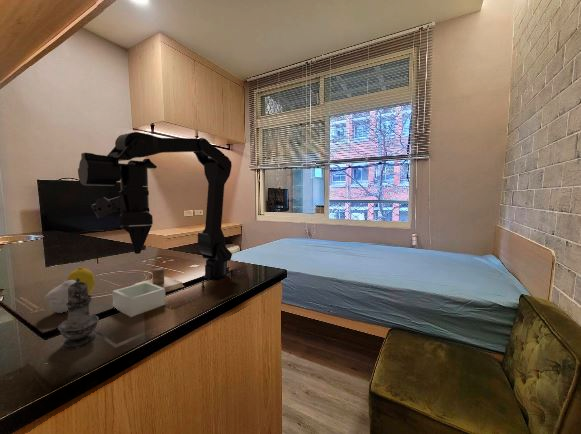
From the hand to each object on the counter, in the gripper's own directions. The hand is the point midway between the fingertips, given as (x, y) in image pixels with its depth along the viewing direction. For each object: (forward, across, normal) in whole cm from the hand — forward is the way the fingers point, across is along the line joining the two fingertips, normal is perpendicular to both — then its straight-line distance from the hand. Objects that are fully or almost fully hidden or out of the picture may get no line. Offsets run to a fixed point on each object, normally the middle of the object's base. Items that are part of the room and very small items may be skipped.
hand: (137, 249), depth 65 cm
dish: (+13, +5, 0) cm, 14 cm away
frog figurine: (+13, 0, -14) cm, 19 cm away
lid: (+13, -6, +5) cm, 15 cm away
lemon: (+13, -8, -12) cm, 20 cm away
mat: (+13, -6, +5) cm, 16 cm away
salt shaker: (+13, +15, -10) cm, 23 cm away
